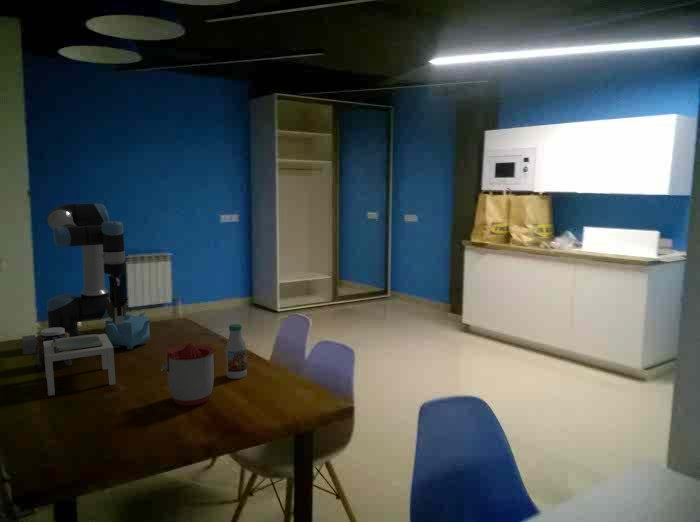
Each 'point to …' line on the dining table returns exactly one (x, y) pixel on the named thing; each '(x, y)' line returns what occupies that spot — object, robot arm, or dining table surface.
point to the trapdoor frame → (104, 351)
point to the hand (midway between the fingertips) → (117, 321)
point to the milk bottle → (236, 353)
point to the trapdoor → (62, 343)
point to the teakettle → (129, 331)
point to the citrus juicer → (190, 374)
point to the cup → (112, 310)
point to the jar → (48, 336)
